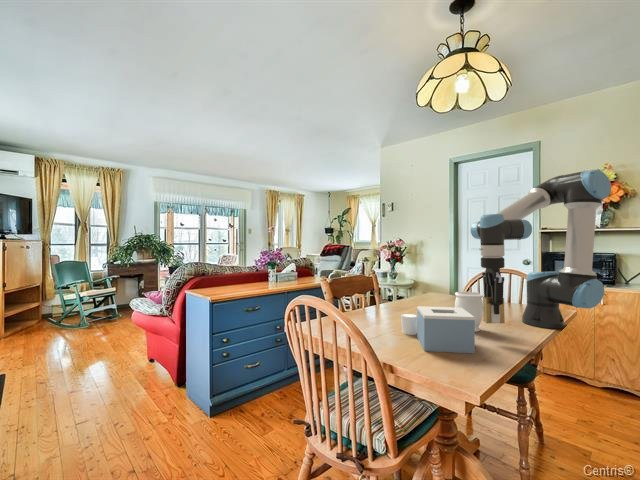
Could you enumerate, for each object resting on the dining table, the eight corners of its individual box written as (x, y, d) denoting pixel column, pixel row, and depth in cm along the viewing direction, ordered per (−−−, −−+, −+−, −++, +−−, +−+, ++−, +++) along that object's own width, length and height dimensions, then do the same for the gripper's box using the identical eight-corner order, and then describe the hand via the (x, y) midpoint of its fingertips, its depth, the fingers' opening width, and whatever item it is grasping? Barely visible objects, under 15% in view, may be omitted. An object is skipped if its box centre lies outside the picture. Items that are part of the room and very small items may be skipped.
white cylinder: (419, 335, 120) (419, 317, 120) (401, 334, 122) (401, 317, 122) (417, 330, 127) (417, 313, 127) (400, 329, 129) (400, 312, 128)
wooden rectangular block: (501, 321, 114) (500, 296, 114) (504, 323, 111) (504, 298, 111) (483, 320, 115) (483, 296, 114) (486, 323, 112) (486, 298, 112)
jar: (476, 326, 134) (477, 291, 133) (487, 333, 123) (487, 295, 123) (451, 325, 135) (451, 291, 134) (459, 332, 124) (459, 295, 124)
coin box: (461, 339, 116) (461, 307, 116) (474, 353, 102) (474, 317, 102) (417, 337, 118) (417, 306, 118) (424, 350, 104) (424, 315, 104)
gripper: (473, 255, 121) (474, 315, 121) (490, 258, 105) (491, 327, 105) (494, 255, 120) (495, 315, 120) (514, 258, 104) (515, 328, 104)
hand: (493, 321), depth 113 cm, fingers closed on wooden rectangular block, 3 cm apart
